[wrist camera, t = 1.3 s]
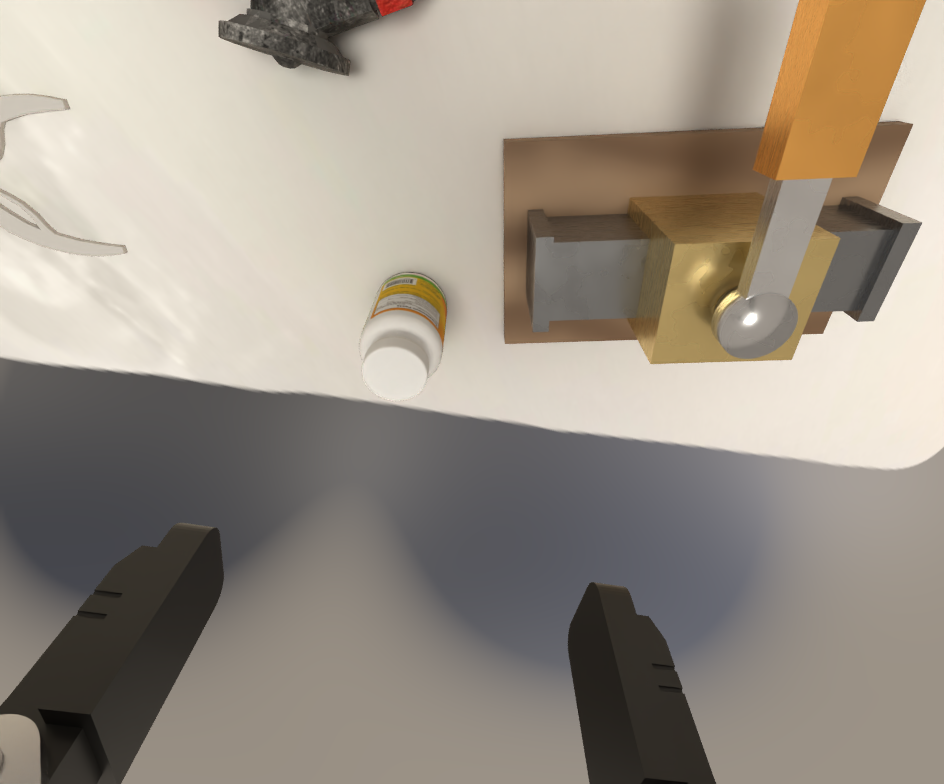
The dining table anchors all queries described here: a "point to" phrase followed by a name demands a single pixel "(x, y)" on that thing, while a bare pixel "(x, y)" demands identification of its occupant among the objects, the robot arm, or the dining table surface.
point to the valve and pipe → (702, 267)
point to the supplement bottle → (403, 336)
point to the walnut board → (644, 175)
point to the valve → (303, 29)
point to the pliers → (41, 233)
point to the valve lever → (811, 151)
